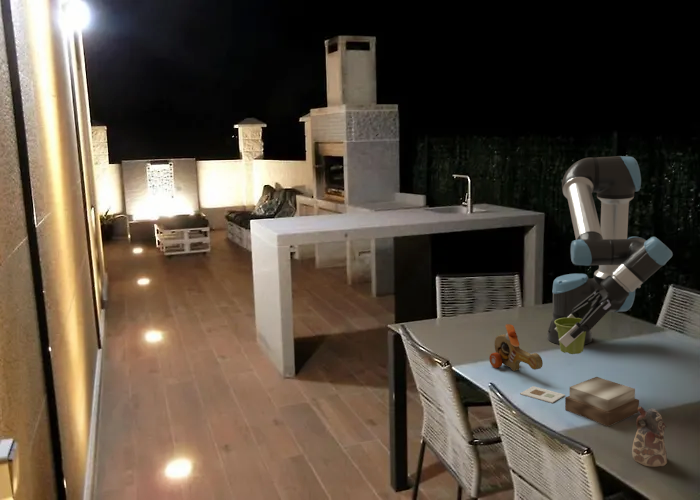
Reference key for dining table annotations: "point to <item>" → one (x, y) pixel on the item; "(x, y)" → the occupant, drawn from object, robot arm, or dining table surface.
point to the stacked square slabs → (602, 401)
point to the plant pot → (563, 327)
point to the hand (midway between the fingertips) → (560, 337)
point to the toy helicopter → (512, 352)
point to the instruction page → (542, 394)
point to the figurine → (649, 439)
